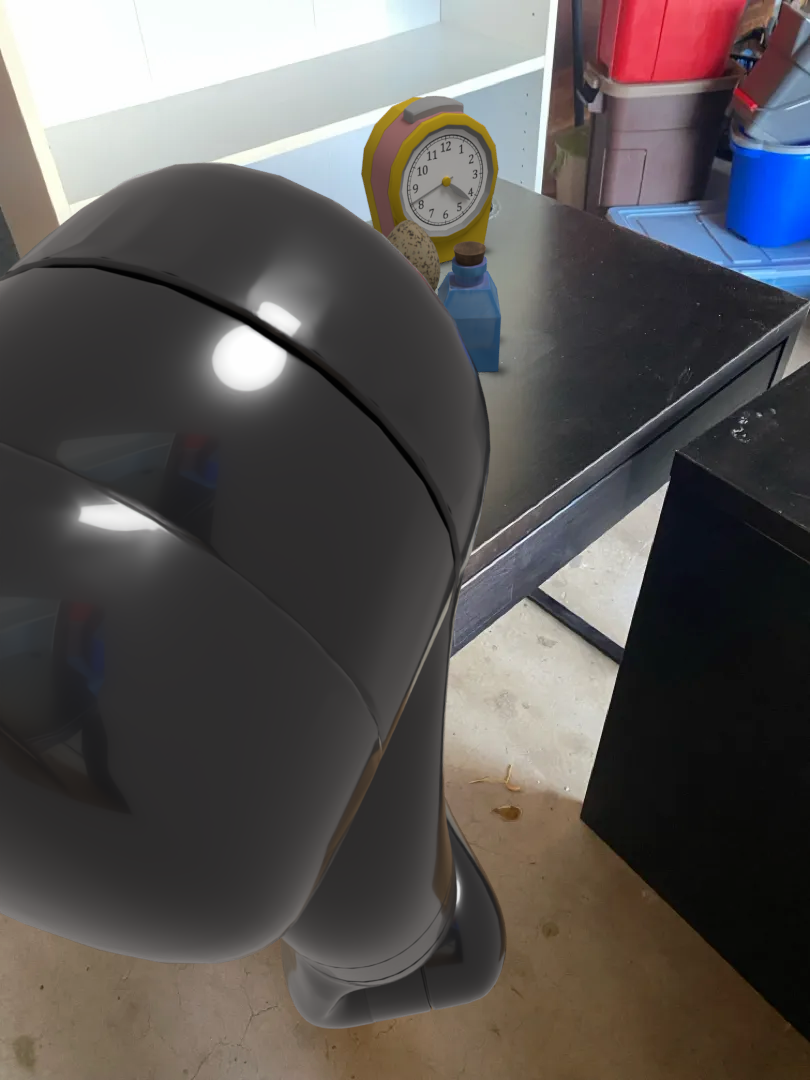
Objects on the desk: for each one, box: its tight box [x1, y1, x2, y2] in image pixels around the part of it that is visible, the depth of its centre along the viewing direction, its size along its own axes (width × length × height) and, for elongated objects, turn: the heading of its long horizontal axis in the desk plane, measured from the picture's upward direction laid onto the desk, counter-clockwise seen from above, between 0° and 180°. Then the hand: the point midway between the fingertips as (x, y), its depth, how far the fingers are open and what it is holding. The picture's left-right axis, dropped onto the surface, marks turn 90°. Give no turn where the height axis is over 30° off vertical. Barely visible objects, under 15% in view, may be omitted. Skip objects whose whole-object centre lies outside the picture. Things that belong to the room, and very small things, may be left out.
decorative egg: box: [387, 220, 441, 292], centre depth 94 cm, size 7×7×10 cm
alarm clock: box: [360, 95, 500, 264], centre depth 101 cm, size 15×8×18 cm, turn 118°
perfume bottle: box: [437, 241, 502, 373], centre depth 84 cm, size 6×6×12 cm
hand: (333, 493), depth 63 cm, fingers open, 8 cm apart
